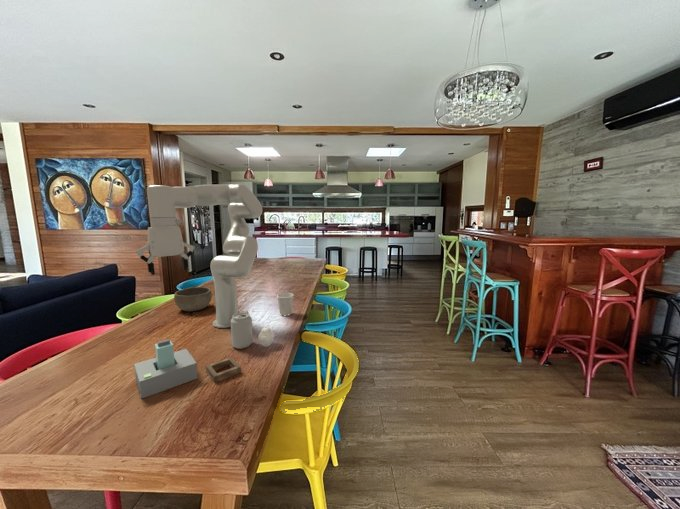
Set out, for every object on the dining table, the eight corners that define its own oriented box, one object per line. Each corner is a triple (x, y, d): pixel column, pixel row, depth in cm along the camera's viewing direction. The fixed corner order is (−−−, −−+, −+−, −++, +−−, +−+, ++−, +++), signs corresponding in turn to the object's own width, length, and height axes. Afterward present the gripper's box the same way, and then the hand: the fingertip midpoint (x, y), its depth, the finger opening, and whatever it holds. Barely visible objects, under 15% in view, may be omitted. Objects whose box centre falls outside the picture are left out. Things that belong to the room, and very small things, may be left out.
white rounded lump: (276, 346, 103) (276, 328, 102) (260, 350, 100) (260, 332, 99) (272, 339, 108) (271, 323, 107) (256, 343, 105) (255, 326, 104)
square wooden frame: (231, 362, 91) (231, 357, 91) (241, 372, 85) (240, 366, 85) (206, 371, 86) (205, 365, 86) (214, 383, 80) (214, 376, 80)
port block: (187, 362, 91) (186, 347, 90) (197, 378, 82) (196, 361, 82) (135, 379, 82) (134, 362, 81) (141, 398, 73) (139, 380, 72)
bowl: (202, 314, 136) (201, 295, 135) (167, 314, 137) (165, 295, 135) (218, 303, 153) (217, 286, 152) (187, 303, 154) (185, 286, 152)
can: (256, 342, 106) (255, 312, 105) (244, 351, 99) (242, 319, 98) (240, 339, 109) (239, 310, 107) (227, 347, 102) (225, 317, 100)
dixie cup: (287, 310, 143) (287, 291, 142) (297, 314, 137) (297, 294, 136) (274, 314, 137) (273, 295, 136) (283, 318, 131) (282, 298, 130)
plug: (172, 370, 85) (169, 337, 83) (175, 375, 82) (172, 341, 80) (157, 375, 82) (154, 341, 81) (160, 381, 79) (156, 345, 78)
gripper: (188, 221, 100) (193, 266, 103) (130, 223, 89) (137, 274, 91) (195, 222, 95) (199, 269, 98) (133, 224, 83) (140, 278, 86)
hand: (169, 272), depth 95 cm, fingers open, 9 cm apart
